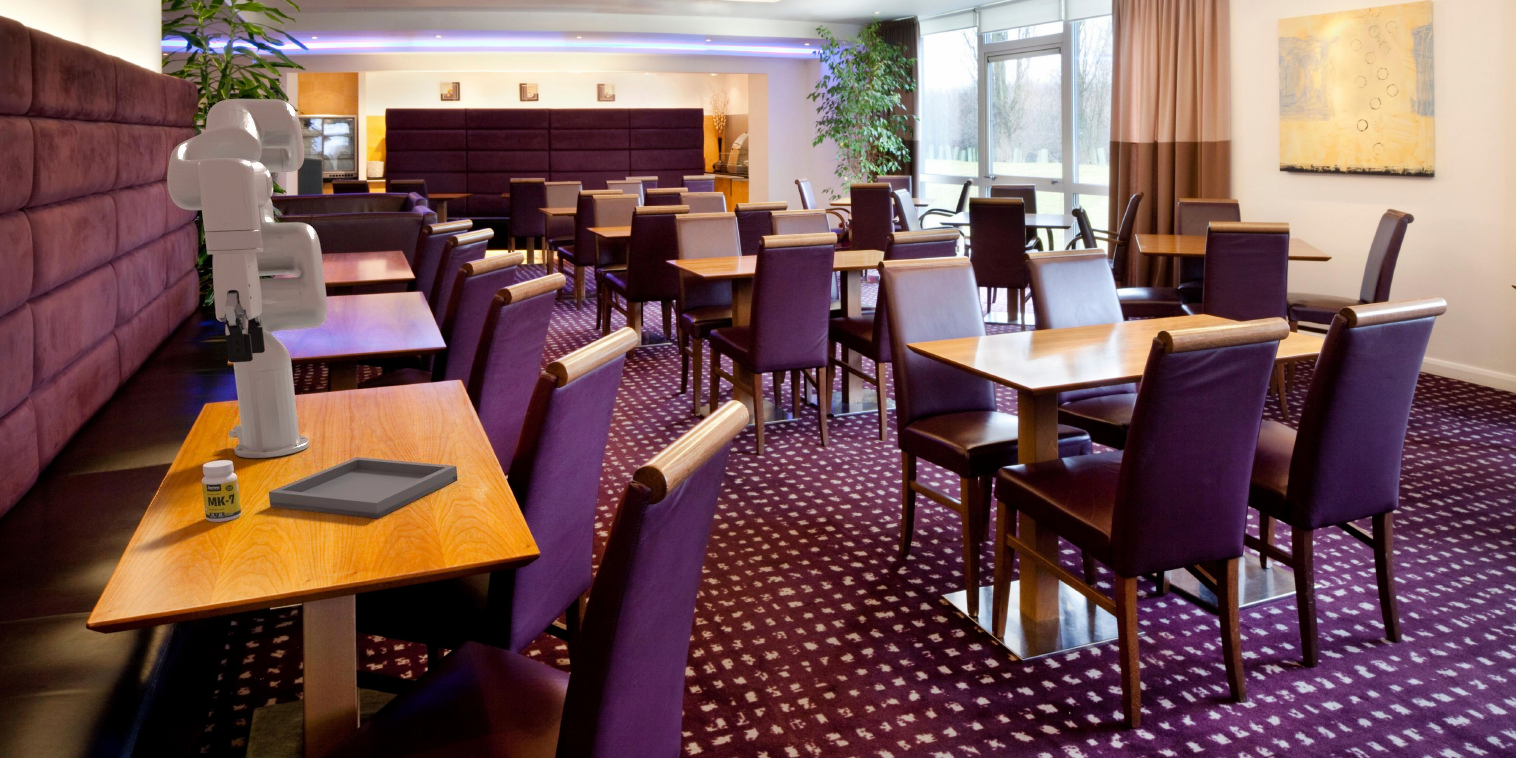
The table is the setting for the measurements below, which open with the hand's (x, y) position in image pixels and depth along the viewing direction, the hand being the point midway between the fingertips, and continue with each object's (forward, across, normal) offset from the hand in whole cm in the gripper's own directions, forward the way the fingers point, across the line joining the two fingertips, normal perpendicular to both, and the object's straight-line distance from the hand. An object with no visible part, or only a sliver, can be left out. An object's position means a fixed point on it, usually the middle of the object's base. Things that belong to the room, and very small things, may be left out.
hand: (247, 357), depth 159 cm
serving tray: (+23, -2, +15) cm, 28 cm away
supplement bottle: (+24, +4, -5) cm, 24 cm away
